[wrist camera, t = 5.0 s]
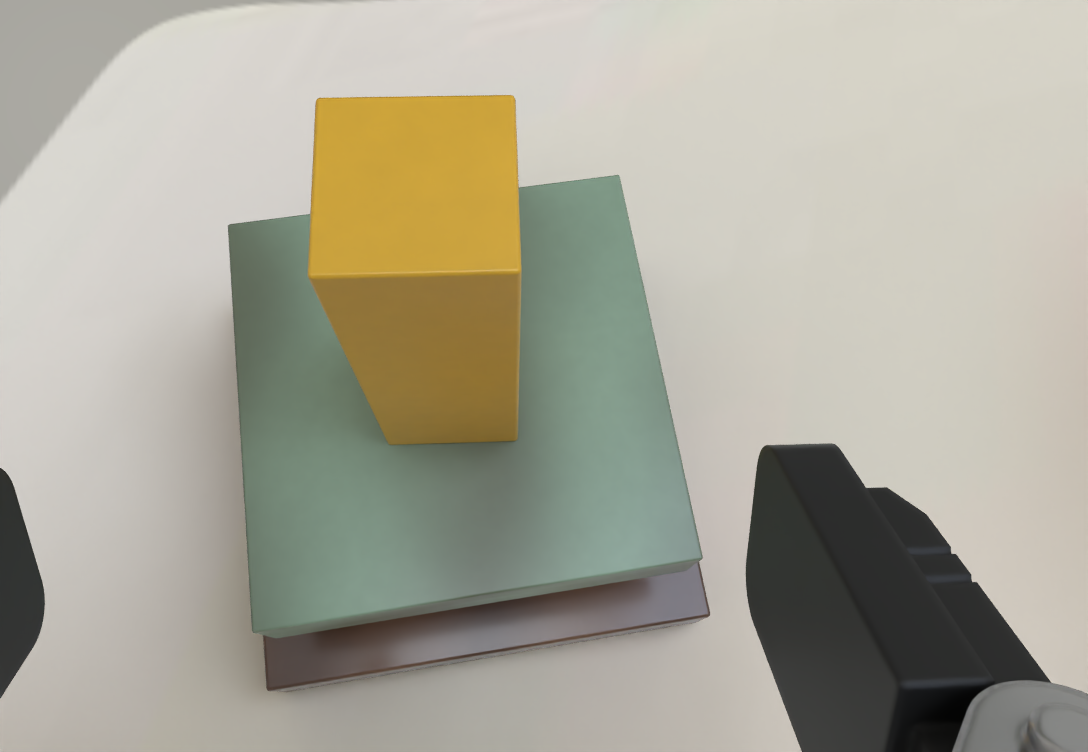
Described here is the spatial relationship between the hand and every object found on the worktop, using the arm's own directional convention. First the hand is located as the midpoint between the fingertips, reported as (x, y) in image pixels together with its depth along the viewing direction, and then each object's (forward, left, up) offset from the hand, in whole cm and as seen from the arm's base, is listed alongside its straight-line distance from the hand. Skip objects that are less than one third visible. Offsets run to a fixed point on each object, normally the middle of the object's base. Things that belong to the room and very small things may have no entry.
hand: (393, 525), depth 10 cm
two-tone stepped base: (-1, +5, -18) cm, 19 cm away
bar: (-1, +5, -11) cm, 12 cm away
